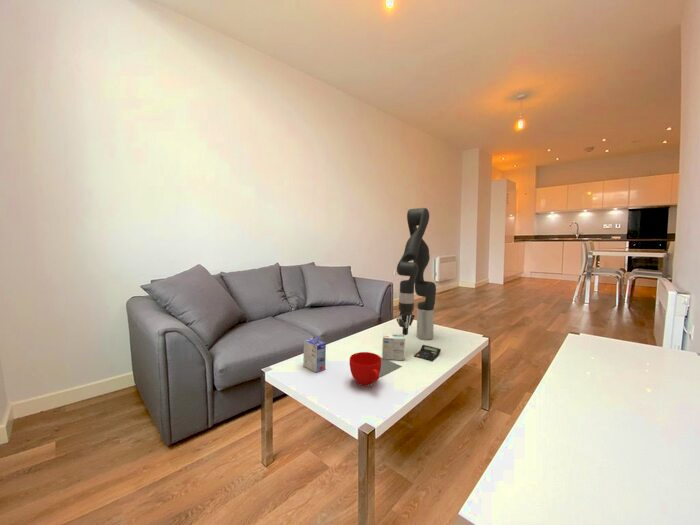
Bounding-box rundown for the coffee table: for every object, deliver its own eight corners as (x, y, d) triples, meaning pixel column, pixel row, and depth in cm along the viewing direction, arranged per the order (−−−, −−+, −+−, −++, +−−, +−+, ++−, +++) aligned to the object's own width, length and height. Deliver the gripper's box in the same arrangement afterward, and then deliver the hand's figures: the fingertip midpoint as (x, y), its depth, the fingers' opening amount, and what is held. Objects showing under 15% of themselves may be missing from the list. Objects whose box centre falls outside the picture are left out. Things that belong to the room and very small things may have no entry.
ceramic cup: (361, 398, 109) (362, 372, 108) (344, 377, 124) (344, 354, 123) (392, 391, 114) (392, 366, 113) (371, 372, 129) (372, 350, 128)
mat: (372, 354, 148) (372, 354, 148) (401, 366, 135) (401, 366, 135) (349, 364, 137) (349, 363, 137) (378, 378, 124) (378, 377, 124)
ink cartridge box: (326, 369, 132) (326, 337, 130) (316, 373, 128) (316, 341, 126) (312, 362, 138) (312, 332, 137) (302, 366, 134) (302, 335, 133)
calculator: (413, 357, 146) (414, 351, 146) (422, 349, 155) (423, 344, 155) (432, 362, 140) (432, 356, 140) (440, 354, 150) (440, 348, 149)
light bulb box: (403, 355, 148) (404, 334, 147) (404, 360, 141) (405, 338, 140) (381, 353, 149) (382, 332, 148) (382, 359, 142) (382, 337, 141)
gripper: (408, 298, 156) (406, 330, 158) (392, 301, 147) (391, 335, 149) (420, 300, 151) (418, 333, 152) (404, 304, 142) (403, 339, 143)
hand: (405, 334), depth 151 cm, fingers closed
